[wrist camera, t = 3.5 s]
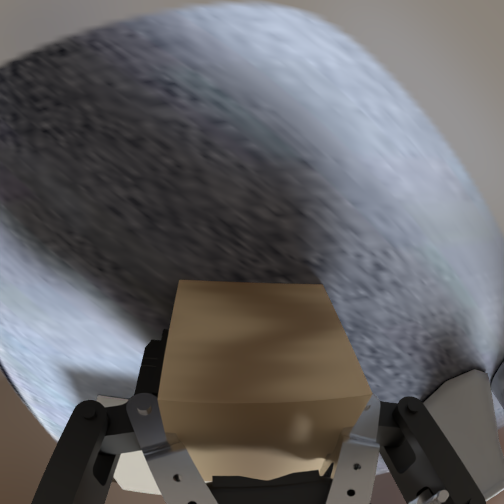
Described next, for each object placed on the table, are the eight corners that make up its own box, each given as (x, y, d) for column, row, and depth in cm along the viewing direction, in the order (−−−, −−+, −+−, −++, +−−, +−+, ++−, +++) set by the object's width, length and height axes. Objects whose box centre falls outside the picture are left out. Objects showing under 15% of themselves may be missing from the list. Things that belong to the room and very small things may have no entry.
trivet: (248, 406, 17) (252, 449, 14) (239, 466, 21) (241, 498, 18) (97, 394, 16) (86, 434, 13) (127, 458, 20) (122, 489, 17)
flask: (442, 370, 18) (504, 484, 9) (497, 362, 19) (554, 448, 10) (395, 430, 21) (433, 529, 12) (453, 417, 22) (493, 498, 13)
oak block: (322, 284, 13) (372, 393, 8) (298, 377, 16) (321, 474, 11) (179, 279, 13) (157, 399, 7) (184, 376, 15) (177, 479, 10)
